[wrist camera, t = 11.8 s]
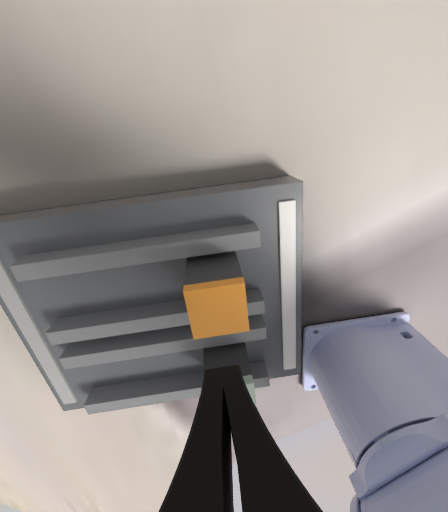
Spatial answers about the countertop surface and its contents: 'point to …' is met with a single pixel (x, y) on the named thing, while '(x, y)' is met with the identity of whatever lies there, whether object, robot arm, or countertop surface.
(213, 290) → the breaker toggle
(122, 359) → the block
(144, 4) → the countertop surface
